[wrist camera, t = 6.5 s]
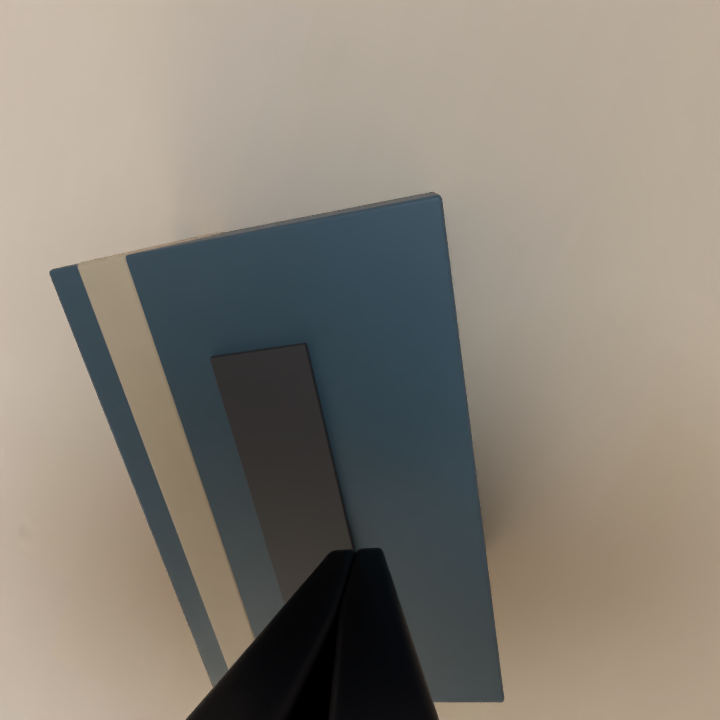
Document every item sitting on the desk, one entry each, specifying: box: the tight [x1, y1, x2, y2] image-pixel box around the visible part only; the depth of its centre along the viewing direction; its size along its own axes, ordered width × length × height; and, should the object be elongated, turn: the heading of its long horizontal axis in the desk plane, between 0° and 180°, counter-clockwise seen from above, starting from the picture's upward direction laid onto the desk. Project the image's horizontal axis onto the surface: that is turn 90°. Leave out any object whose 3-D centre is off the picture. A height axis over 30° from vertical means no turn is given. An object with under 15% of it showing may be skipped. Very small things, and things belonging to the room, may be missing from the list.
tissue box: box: [50, 192, 504, 702], centre depth 12 cm, size 11×5×7 cm
